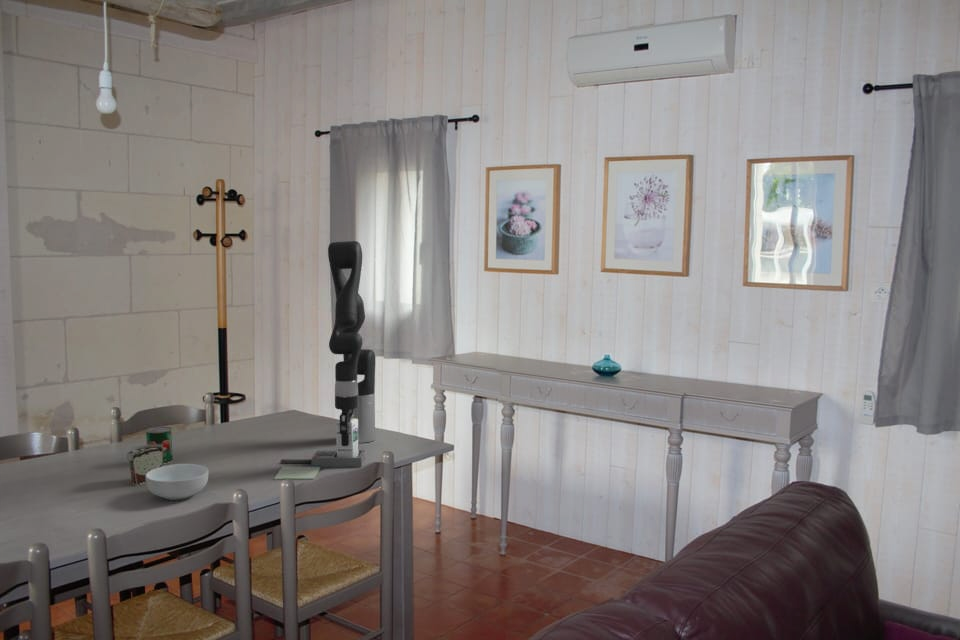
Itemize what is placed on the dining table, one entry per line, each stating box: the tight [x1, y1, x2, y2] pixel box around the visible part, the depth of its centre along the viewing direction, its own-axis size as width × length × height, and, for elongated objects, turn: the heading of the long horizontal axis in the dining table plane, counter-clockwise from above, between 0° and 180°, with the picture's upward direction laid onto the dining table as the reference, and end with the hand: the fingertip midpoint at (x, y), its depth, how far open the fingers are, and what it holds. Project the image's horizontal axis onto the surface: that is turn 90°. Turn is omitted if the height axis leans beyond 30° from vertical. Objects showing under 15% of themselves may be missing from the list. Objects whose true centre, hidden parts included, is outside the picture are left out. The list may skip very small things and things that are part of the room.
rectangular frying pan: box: [279, 449, 366, 468], centre depth 269 cm, size 10×27×3 cm, turn 91°
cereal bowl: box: [145, 463, 209, 501], centre depth 235 cm, size 17×17×7 cm
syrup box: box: [335, 418, 360, 457], centre depth 268 cm, size 6×6×14 cm
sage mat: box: [273, 466, 321, 481], centre depth 257 cm, size 12×12×1 cm
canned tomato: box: [145, 426, 174, 465], centre depth 270 cm, size 8×8×11 cm
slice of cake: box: [125, 444, 165, 486], centre depth 250 cm, size 12×6×10 cm, turn 152°
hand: (347, 442), depth 268 cm, fingers open, 8 cm apart
